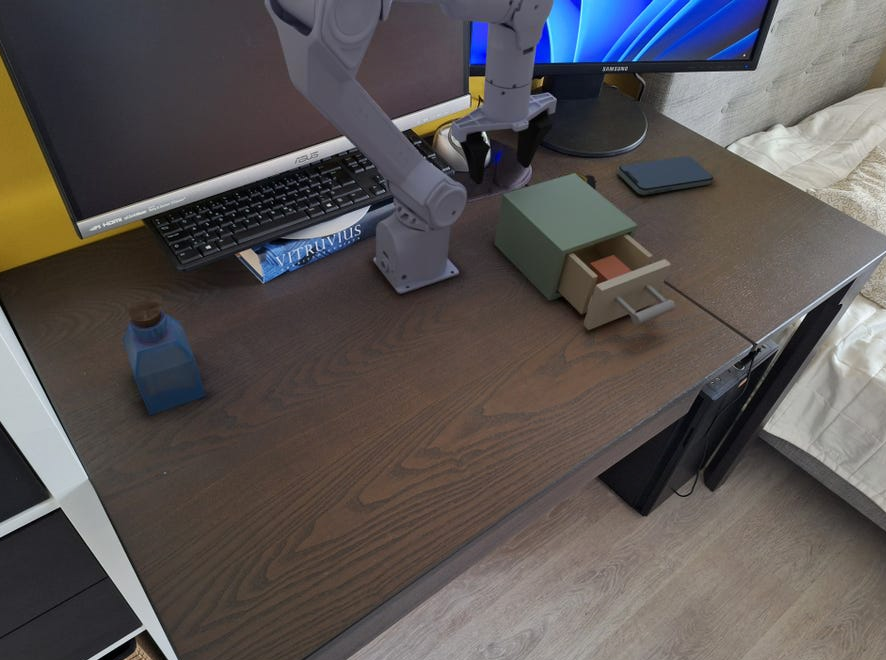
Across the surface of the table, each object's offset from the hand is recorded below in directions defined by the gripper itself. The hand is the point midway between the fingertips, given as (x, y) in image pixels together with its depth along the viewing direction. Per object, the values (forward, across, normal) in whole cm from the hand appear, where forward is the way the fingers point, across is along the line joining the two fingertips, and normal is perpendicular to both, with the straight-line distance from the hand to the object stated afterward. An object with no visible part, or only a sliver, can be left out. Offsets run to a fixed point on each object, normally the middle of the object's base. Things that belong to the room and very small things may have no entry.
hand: (499, 172), depth 91 cm
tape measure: (+12, +16, +1) cm, 20 cm away
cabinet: (+11, +5, -9) cm, 15 cm away
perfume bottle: (+7, -50, -9) cm, 51 cm away
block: (+9, +5, -19) cm, 22 cm away
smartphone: (+13, +34, 0) cm, 37 cm away
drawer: (+10, +5, -19) cm, 22 cm away
